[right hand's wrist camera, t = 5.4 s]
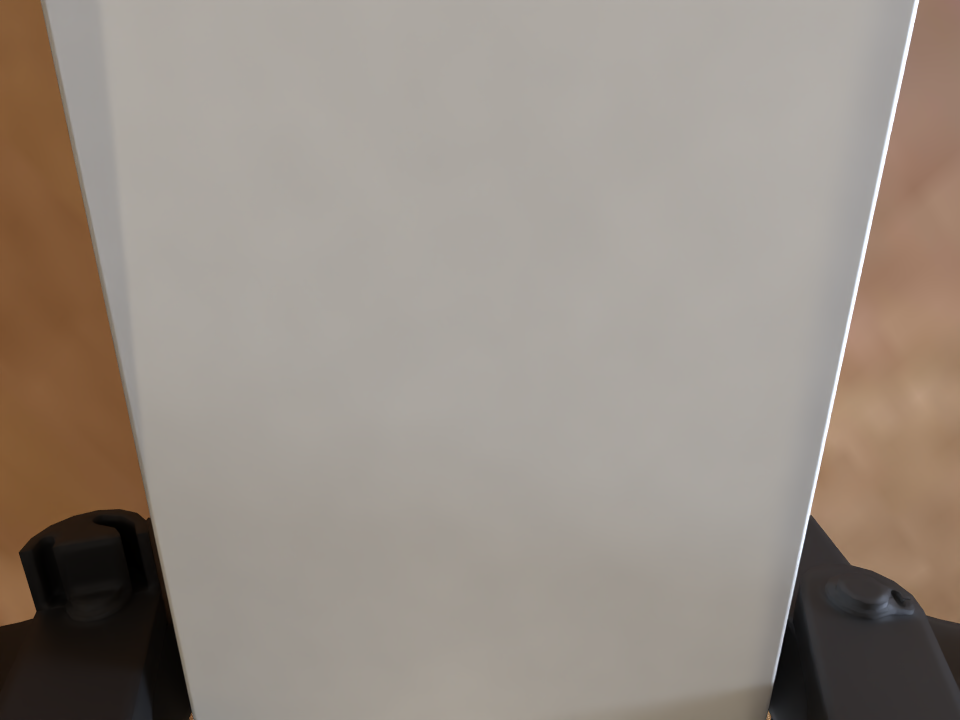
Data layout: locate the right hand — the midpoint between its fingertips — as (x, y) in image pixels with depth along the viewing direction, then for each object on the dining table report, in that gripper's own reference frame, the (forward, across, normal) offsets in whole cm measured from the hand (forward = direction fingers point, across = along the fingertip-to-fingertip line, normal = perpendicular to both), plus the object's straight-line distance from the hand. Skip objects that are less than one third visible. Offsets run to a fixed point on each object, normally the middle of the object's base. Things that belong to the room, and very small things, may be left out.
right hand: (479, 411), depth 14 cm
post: (+1, 0, -27) cm, 27 cm away
